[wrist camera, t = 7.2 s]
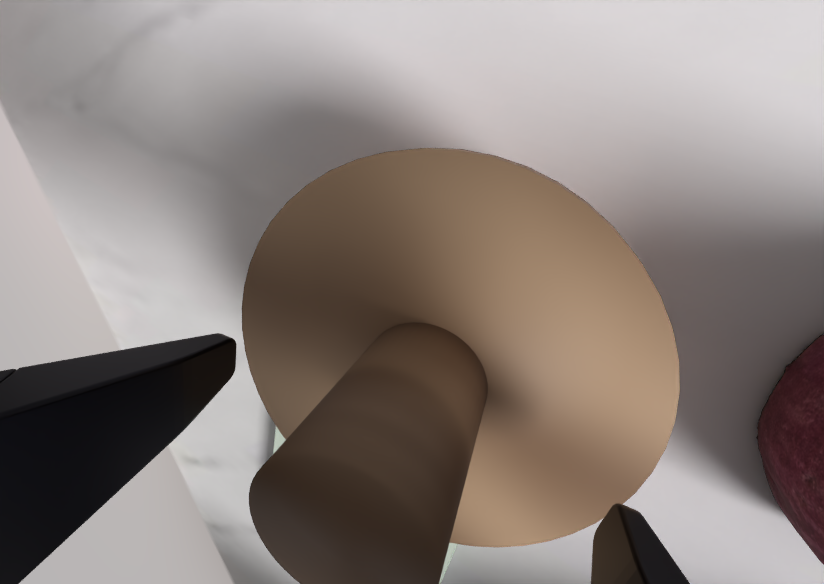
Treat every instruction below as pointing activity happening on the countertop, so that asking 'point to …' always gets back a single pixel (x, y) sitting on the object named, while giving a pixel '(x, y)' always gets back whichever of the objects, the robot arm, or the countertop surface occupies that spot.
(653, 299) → the lid
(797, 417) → the vegetable
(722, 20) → the countertop surface
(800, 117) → the countertop surface
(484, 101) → the countertop surface
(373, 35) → the countertop surface
